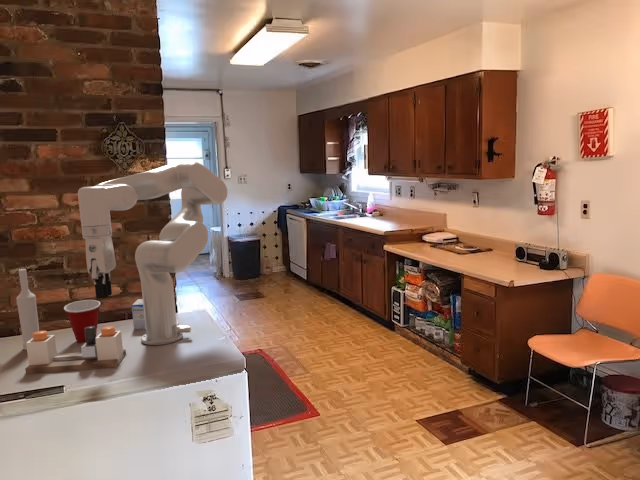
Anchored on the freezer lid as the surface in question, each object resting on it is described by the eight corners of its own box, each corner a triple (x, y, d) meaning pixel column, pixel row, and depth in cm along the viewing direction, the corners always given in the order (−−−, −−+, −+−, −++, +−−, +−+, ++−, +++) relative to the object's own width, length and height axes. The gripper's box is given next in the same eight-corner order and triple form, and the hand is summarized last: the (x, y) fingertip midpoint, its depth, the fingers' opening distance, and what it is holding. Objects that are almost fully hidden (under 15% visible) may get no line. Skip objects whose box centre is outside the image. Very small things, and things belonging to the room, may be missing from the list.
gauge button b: (50, 337, 150) (49, 330, 149) (44, 341, 146) (43, 334, 146) (36, 337, 150) (36, 331, 149) (31, 342, 146) (30, 335, 146)
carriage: (102, 348, 153) (99, 324, 152) (95, 356, 147) (92, 330, 146) (89, 349, 152) (87, 324, 151) (82, 357, 147) (79, 331, 145)
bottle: (29, 351, 162) (18, 272, 158) (19, 349, 164) (9, 270, 161) (45, 346, 166) (35, 268, 162) (36, 343, 169) (26, 267, 165)
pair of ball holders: (123, 357, 153) (120, 330, 152) (118, 364, 148) (115, 336, 147) (38, 363, 152) (35, 336, 150) (29, 370, 146) (26, 342, 145)
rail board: (126, 354, 155) (125, 346, 155) (115, 367, 146) (114, 358, 145) (42, 360, 154) (41, 351, 153) (25, 373, 144) (24, 364, 144)
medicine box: (139, 322, 187) (137, 299, 185) (152, 321, 187) (150, 298, 186) (133, 329, 179) (131, 305, 178) (147, 328, 179) (144, 304, 178)
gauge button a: (116, 332, 151) (116, 325, 151) (113, 336, 148) (112, 329, 147) (104, 333, 151) (103, 326, 151) (99, 337, 147) (99, 330, 147)
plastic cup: (67, 348, 163) (62, 310, 161) (68, 338, 173) (64, 302, 171) (105, 342, 167) (101, 305, 166) (103, 332, 177) (100, 297, 175)
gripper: (101, 234, 137) (108, 303, 140) (119, 227, 153) (126, 288, 156) (71, 236, 137) (79, 305, 139) (93, 228, 152) (100, 290, 155)
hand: (104, 296), depth 147 cm, fingers closed
